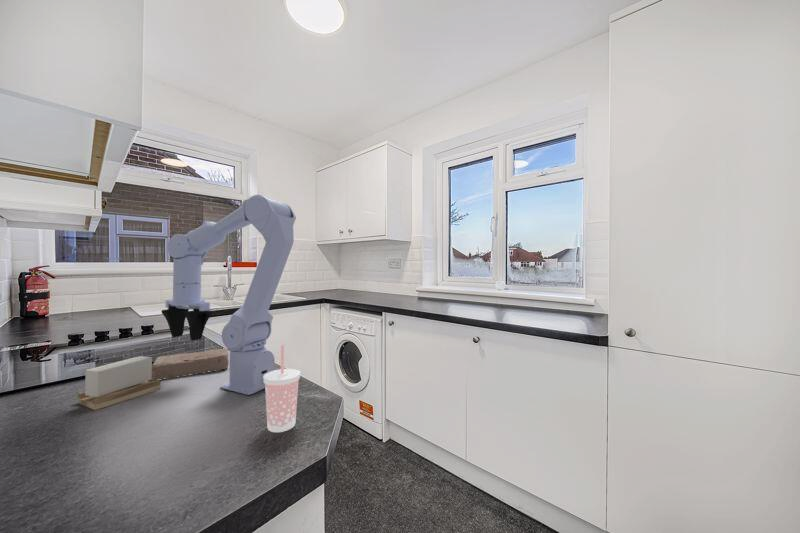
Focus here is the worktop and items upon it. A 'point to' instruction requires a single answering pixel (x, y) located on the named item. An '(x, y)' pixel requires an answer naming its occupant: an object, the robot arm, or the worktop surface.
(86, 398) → the wooden base plate
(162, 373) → the brick
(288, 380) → the beverage cup
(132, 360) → the white rectangular block
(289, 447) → the worktop surface
